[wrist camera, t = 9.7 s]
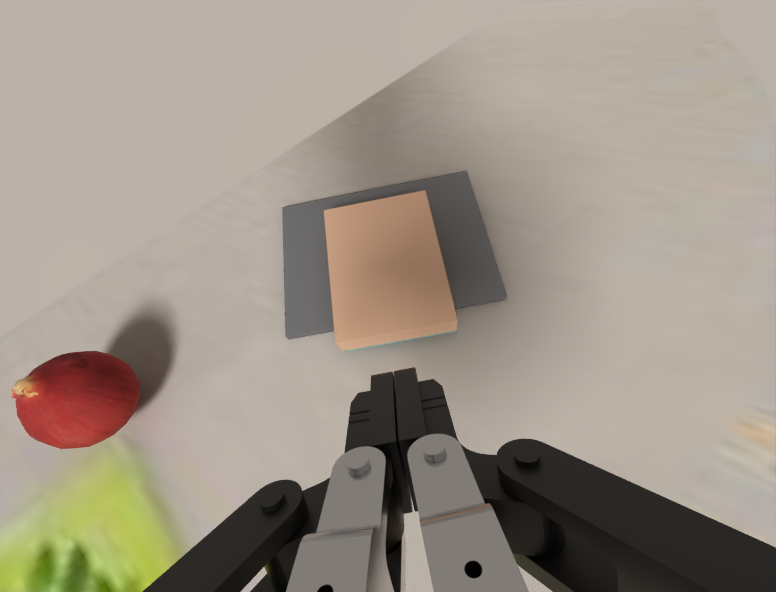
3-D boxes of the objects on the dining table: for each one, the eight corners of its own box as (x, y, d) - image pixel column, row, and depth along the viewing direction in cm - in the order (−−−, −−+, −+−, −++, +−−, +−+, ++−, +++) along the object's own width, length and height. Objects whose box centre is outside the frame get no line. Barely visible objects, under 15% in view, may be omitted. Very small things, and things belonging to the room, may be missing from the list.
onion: (83, 391, 29) (-36, 360, 21) (157, 355, 29) (65, 313, 22) (92, 468, 26) (-40, 461, 19) (172, 426, 27) (74, 405, 19)
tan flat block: (335, 342, 25) (323, 210, 30) (342, 352, 27) (330, 225, 32) (457, 320, 25) (425, 190, 30) (456, 331, 26) (426, 206, 31)
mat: (288, 339, 28) (285, 336, 28) (284, 211, 34) (282, 207, 33) (505, 299, 28) (506, 295, 27) (466, 175, 33) (466, 170, 33)
